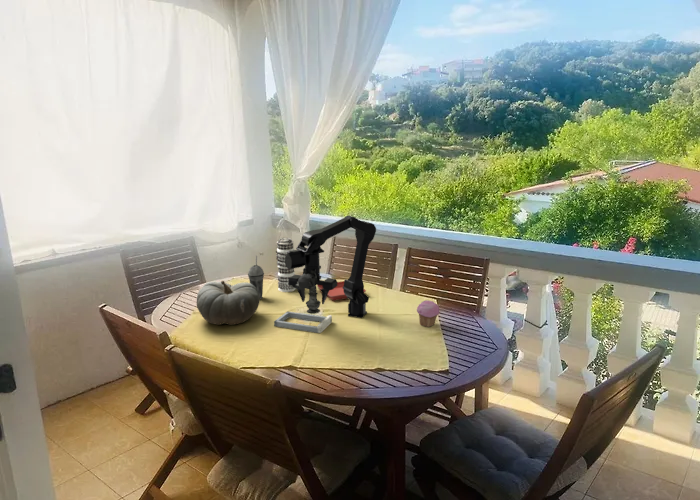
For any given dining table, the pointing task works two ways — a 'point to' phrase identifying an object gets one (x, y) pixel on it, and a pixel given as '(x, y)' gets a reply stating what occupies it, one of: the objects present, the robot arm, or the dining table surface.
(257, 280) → the beverage cup
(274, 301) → the dining table surface
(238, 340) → the dining table surface
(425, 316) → the cupcake
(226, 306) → the gourd
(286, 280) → the decorative candle
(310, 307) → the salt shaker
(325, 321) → the frame
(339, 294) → the plant saucer
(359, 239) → the robot arm
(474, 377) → the dining table surface
